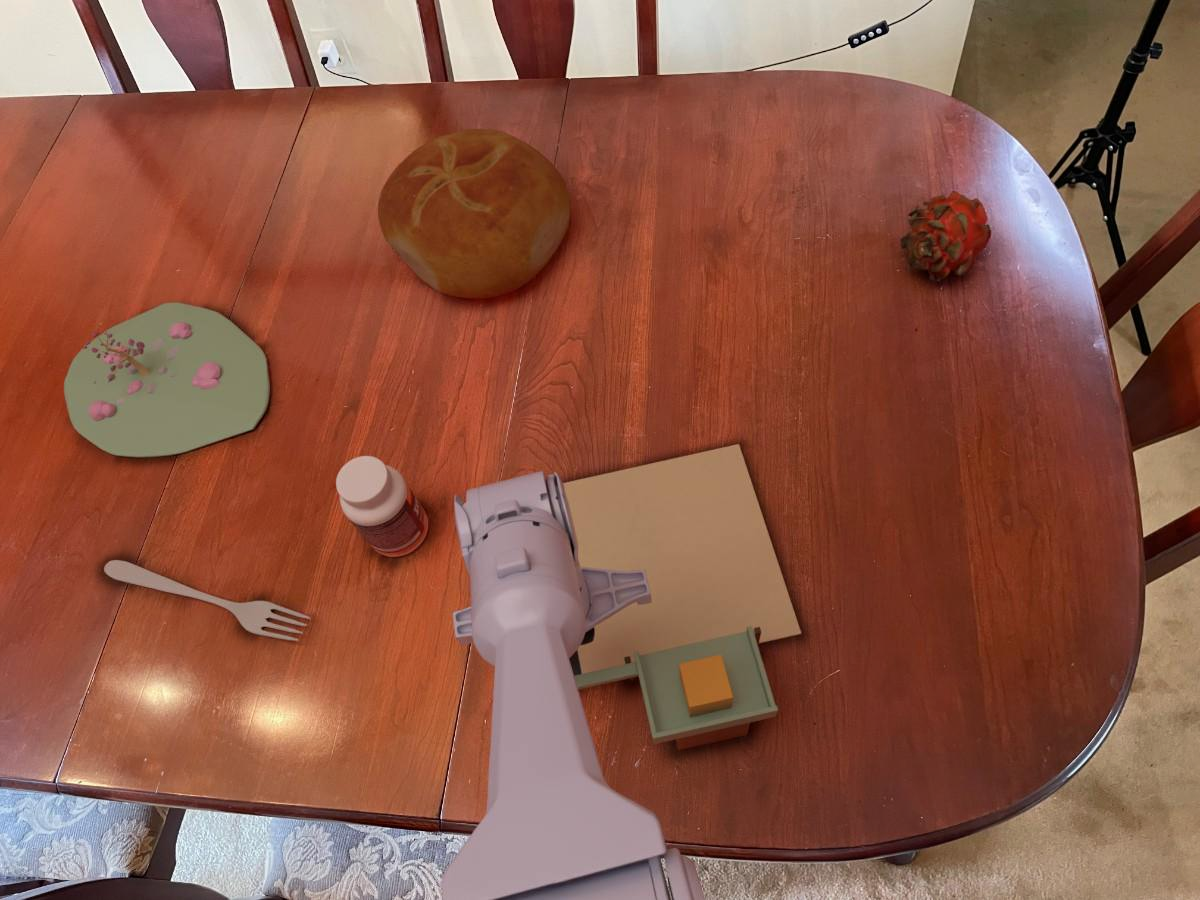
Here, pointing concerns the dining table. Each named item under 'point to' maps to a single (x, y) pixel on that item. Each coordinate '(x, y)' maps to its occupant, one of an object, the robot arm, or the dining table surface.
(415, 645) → the dining table surface
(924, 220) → the dragon fruit
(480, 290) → the bread
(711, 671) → the block
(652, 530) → the mat
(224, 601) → the fork
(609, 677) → the tray
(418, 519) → the pill bottle
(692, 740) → the stand
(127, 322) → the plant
